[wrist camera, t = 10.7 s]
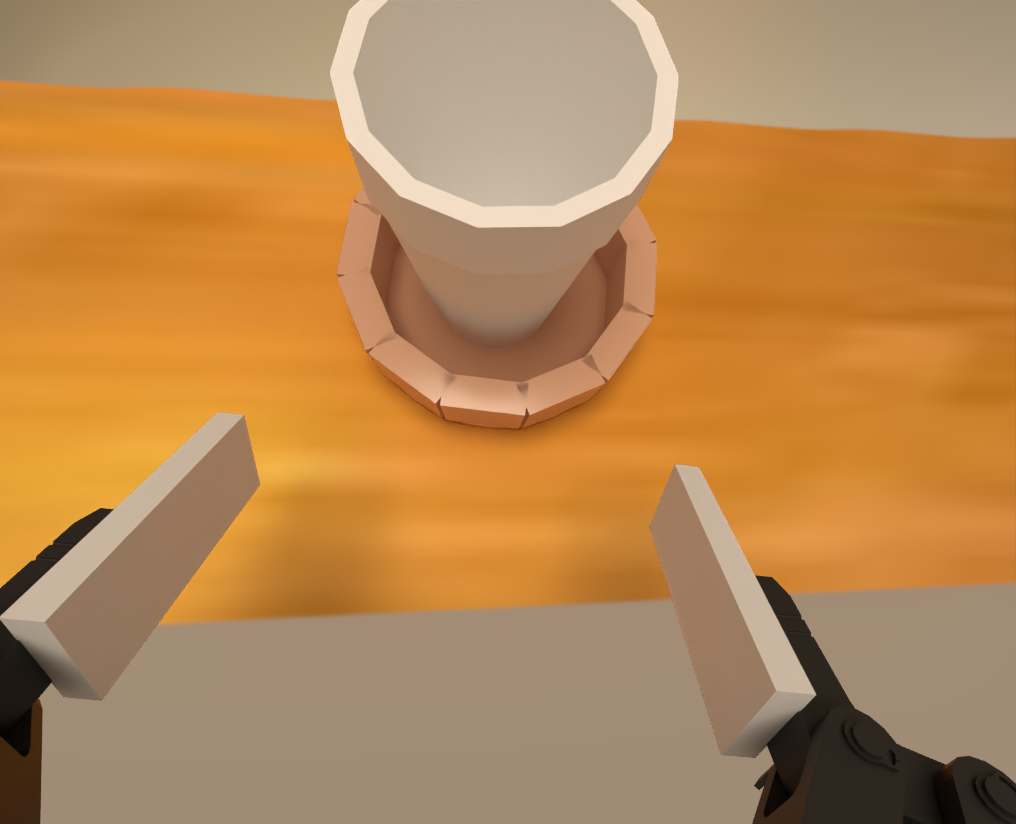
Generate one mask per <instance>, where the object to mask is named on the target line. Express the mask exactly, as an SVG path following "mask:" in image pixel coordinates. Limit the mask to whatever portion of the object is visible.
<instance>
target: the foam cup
mask: <svg viewBox="0 0 1016 824" xmlns="http://www.w3.org/2000/svg"><path fill="white" fill-rule="evenodd" d="M330 76H331V79H332V83H333V87H334V91H335V95H336V99H337V103H338V107H339V111H340V115H341V119H342V123H343V127H344V131H345V134H346V138H347V141H348V144H349V147H350V150H351V152H352V155H353V158H354V161H355V163H356V166H357V169H358V172H359V175H360V177H361V180H362V183H363V186H364V188H365V191H366V194H367V197H368V199H369V201H370V202H371V203H372V204H373V205H374V206H375V207H376V209H377V210H378V211H379V212H380V213H381V214H382V215H383V216H384V217H385V218H386V219H387V221H388V222H389V224H390V226H391V228H392V230H393V231H394V233H395V235H396V237H397V238H398V240H399V242H400V244H401V246H402V247H403V249H404V251H405V253H406V255H407V256H408V258H409V260H410V262H411V264H412V265H413V267H414V269H415V271H416V273H417V274H418V276H419V278H420V280H421V281H422V283H423V285H424V287H425V289H426V290H427V292H428V294H429V296H430V298H431V299H432V301H433V303H434V305H435V307H436V308H437V310H438V312H439V314H440V315H441V316H442V318H443V320H444V321H445V322H446V323H447V324H448V325H449V326H450V328H451V329H452V330H453V331H454V332H455V333H456V334H457V335H458V336H459V337H460V338H461V339H464V340H466V341H469V342H471V343H473V344H476V345H478V346H481V347H483V348H498V347H511V346H513V345H515V344H517V343H519V342H521V341H523V340H525V339H527V338H529V337H531V336H533V335H534V333H535V332H536V331H537V330H538V328H539V327H540V326H541V324H542V323H543V322H544V320H545V319H546V318H547V316H548V315H549V314H550V312H551V311H552V310H553V308H554V307H555V305H556V304H557V303H558V301H559V300H560V299H561V297H562V296H563V294H564V293H565V292H566V290H567V289H568V288H569V286H570V285H571V283H572V282H573V281H574V279H575V278H576V277H577V275H578V274H579V273H580V271H581V270H582V268H583V267H584V266H585V264H586V263H587V262H588V260H589V259H590V257H591V256H592V255H593V253H594V252H595V251H596V250H597V249H599V248H601V247H603V246H605V245H607V243H608V242H609V241H610V239H611V238H612V237H613V235H614V234H615V233H616V231H617V230H618V229H619V227H620V226H621V224H622V223H623V222H624V220H625V219H626V218H627V216H628V215H629V214H630V212H631V211H632V210H633V208H634V207H635V206H636V204H637V203H638V202H639V200H640V199H641V198H642V196H643V194H644V192H645V190H646V188H647V186H648V184H649V182H650V180H651V178H652V177H653V175H654V173H655V171H656V169H657V167H658V165H659V163H660V161H661V159H662V157H663V156H664V154H665V152H666V150H667V148H668V146H669V144H670V142H671V140H672V135H673V125H674V116H675V107H676V97H677V87H678V79H679V75H678V73H677V71H676V68H675V66H674V64H673V61H672V59H671V57H670V54H669V52H668V49H667V47H666V45H665V42H664V40H663V38H662V36H661V33H660V32H659V28H658V26H657V24H656V21H655V19H654V17H653V16H652V15H651V14H650V13H649V12H648V11H647V10H646V9H645V8H643V6H641V5H640V4H639V3H638V2H637V1H636V0H360V1H359V2H358V3H356V4H355V5H354V6H353V7H352V8H351V9H350V10H349V12H348V15H347V18H346V22H345V25H344V28H343V31H342V35H341V38H340V41H339V44H338V47H337V51H336V54H335V57H334V60H333V64H332V67H331V70H330Z"/></svg>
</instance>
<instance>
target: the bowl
mask: <svg viewBox="0 0 1016 824" xmlns="http://www.w3.org/2000/svg"><path fill="white" fill-rule="evenodd" d="M354 201H355V203H354V202H352V203H351V207H350V212H349V217H348V222H347V226H346V231H345V236H344V241H343V246H342V250H341V255H340V260H339V265H338V269H337V275H338V278H337V279H338V282H339V285H340V287H341V290H342V292H343V295H344V297H345V300H346V302H347V305H348V307H349V310H350V312H351V315H352V317H353V320H354V322H355V325H356V327H357V330H358V332H359V335H360V337H361V340H362V342H363V345H364V348H365V350H366V351H367V353H368V354H369V356H370V357H371V358H372V360H373V361H374V362H375V364H376V365H377V366H378V368H379V369H380V370H381V372H382V373H383V374H384V376H385V377H387V378H388V379H390V380H391V381H392V382H394V383H395V384H396V385H398V386H399V387H400V388H401V389H402V390H403V391H404V392H405V393H407V394H408V395H409V396H410V397H411V398H412V399H414V400H415V401H416V402H417V403H419V404H421V405H422V406H424V407H425V408H427V409H428V410H430V411H432V412H434V413H435V414H437V415H438V416H439V417H441V418H443V417H444V418H445V419H446V420H449V421H455V422H458V423H461V424H464V425H470V426H475V427H481V428H495V429H505V428H515V429H519V427H522V428H525V427H527V426H529V425H533V424H537V423H540V422H543V421H545V420H548V419H551V418H554V417H556V416H558V415H560V414H561V413H563V412H565V411H567V410H569V409H570V408H572V407H574V406H576V405H579V404H581V403H584V402H586V401H588V400H589V399H590V398H592V397H593V396H594V395H595V394H596V393H597V392H598V391H599V390H600V389H601V388H602V387H603V386H604V385H605V384H606V383H607V382H608V381H609V380H610V378H611V377H612V375H613V374H614V373H615V371H616V370H617V368H618V367H619V366H620V364H621V363H622V361H623V360H624V359H625V357H626V356H627V354H628V353H629V351H630V350H631V349H632V347H633V346H634V344H635V343H636V342H637V340H638V339H639V337H640V336H641V335H642V333H643V332H644V330H645V329H646V328H647V326H648V325H649V323H650V322H651V321H652V317H653V316H654V304H655V282H656V260H657V244H656V243H655V241H656V238H655V236H654V235H653V233H652V231H651V229H650V227H649V225H648V223H647V222H646V220H645V218H644V216H643V214H642V212H641V211H640V209H639V207H638V205H637V204H636V206H635V207H634V208H633V210H632V211H631V212H630V214H629V215H628V216H627V218H626V219H625V220H624V222H623V223H622V224H621V226H620V227H619V229H618V230H617V231H616V233H615V234H614V235H613V237H612V238H611V239H610V241H609V242H608V243H607V245H605V246H603V247H601V248H599V249H597V250H596V251H595V252H594V253H593V255H592V256H591V257H590V259H589V260H588V262H587V263H586V264H585V266H584V267H583V268H582V270H581V271H580V273H579V274H578V275H577V277H576V278H575V279H574V281H573V282H572V283H571V285H570V286H569V288H568V289H567V290H566V292H565V293H564V294H563V296H562V297H561V299H560V300H559V301H558V303H557V304H556V305H555V307H554V308H553V310H552V311H551V312H550V314H549V315H548V316H547V318H546V319H545V320H544V322H543V323H542V324H541V326H540V327H539V328H538V330H537V331H536V332H535V333H534V335H533V336H531V337H529V338H527V339H525V340H523V341H521V342H519V343H517V344H515V345H513V346H511V347H498V348H483V347H481V346H478V345H476V344H473V343H471V342H469V341H466V340H464V339H461V338H460V337H459V336H458V335H457V334H456V333H455V332H454V331H453V330H452V329H451V328H450V326H449V325H448V324H447V323H446V322H445V321H444V320H443V318H442V316H441V315H440V314H439V312H438V310H437V308H436V307H435V305H434V303H433V301H432V299H431V298H430V296H429V294H428V292H427V290H426V289H425V287H424V285H423V283H422V281H421V280H420V278H419V276H418V274H417V273H416V271H415V269H414V267H413V265H412V264H411V262H410V260H409V258H408V256H407V255H406V253H405V251H404V249H403V247H402V246H401V244H400V242H399V240H398V238H397V237H396V235H395V233H394V231H393V230H392V228H391V226H390V224H389V222H388V221H387V219H386V218H385V217H384V216H383V215H382V214H381V213H380V212H379V211H378V210H377V209H376V207H375V206H374V205H373V204H372V203H371V202H370V201H369V199H368V197H367V194H366V191H365V188H363V189H362V190H361V191H360V192H359V193H358V194H357V195H356V197H355V198H354Z"/></svg>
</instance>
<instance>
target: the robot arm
mask: <svg viewBox="0 0 1016 824" xmlns="http://www.w3.org/2000/svg"><path fill="white" fill-rule="evenodd" d="M259 486H260V482H259V477H258V473H257V469H256V464H255V460H254V456H253V451H252V447H251V443H250V438H249V434H248V430H247V426H246V421H245V417H244V415H239V414H230V413H221V412H217V413H216V414H215V415H214V416H213V417H212V418H211V419H210V420H209V421H208V422H207V423H206V424H205V425H204V426H203V427H201V428H200V429H199V430H198V431H197V432H196V433H195V434H194V435H193V436H192V437H191V438H190V439H189V440H188V441H187V442H185V443H184V444H183V445H182V446H181V447H180V448H179V449H178V450H177V451H176V452H175V453H174V454H173V455H172V456H171V457H169V458H168V459H167V460H166V461H165V462H164V463H163V464H162V465H161V466H160V467H159V468H158V469H157V470H156V471H155V472H153V473H152V474H151V475H150V476H149V477H148V478H147V479H146V480H145V481H144V482H143V483H142V484H141V485H140V486H139V487H137V488H136V489H135V490H134V491H133V492H132V493H131V494H130V495H129V496H128V497H127V498H126V499H125V500H124V501H123V502H121V503H120V504H119V505H118V506H117V507H116V508H115V509H104V508H100V509H98V510H97V511H95V512H93V513H91V514H89V515H88V516H86V517H84V518H82V519H80V520H79V521H77V522H75V523H74V524H72V525H71V526H70V527H69V528H68V529H67V530H66V531H65V532H63V533H62V534H61V535H60V536H59V537H58V538H57V539H56V540H54V541H53V542H54V543H53V545H49V546H48V547H46V548H45V549H44V550H43V551H42V552H41V553H40V554H39V555H37V556H36V560H34V561H31V562H30V563H28V564H27V565H26V566H25V567H24V568H23V569H22V570H20V571H19V572H18V573H17V574H16V575H15V576H14V577H13V578H11V579H10V580H9V581H8V582H7V583H6V584H5V585H3V586H2V587H1V588H0V824H40V808H41V807H40V806H41V759H42V706H41V703H40V700H39V699H38V698H39V697H40V695H41V694H42V693H43V692H44V691H45V689H46V688H47V687H48V686H49V685H50V684H51V682H52V684H53V685H54V686H55V687H56V689H57V690H58V691H59V692H60V694H61V695H62V696H63V697H68V698H79V699H91V700H102V699H103V698H104V697H105V696H106V694H107V693H108V691H109V690H110V689H111V687H112V686H113V685H114V683H115V682H116V681H117V679H118V678H119V676H120V675H121V674H122V672H123V671H124V670H125V668H126V667H127V665H128V664H129V663H130V661H131V660H132V659H133V657H134V656H135V655H136V653H137V652H138V651H139V649H140V648H141V646H142V645H143V644H144V642H145V641H146V640H147V638H148V637H149V636H150V634H151V633H152V631H153V630H154V629H155V627H156V626H157V625H158V623H159V622H160V621H161V619H162V618H163V616H164V615H165V614H166V612H167V611H168V610H169V608H170V607H171V606H172V604H173V603H174V601H175V600H176V599H177V597H178V596H179V595H180V593H181V592H182V591H183V589H184V588H185V586H186V585H187V584H188V582H189V581H190V580H191V578H192V577H193V576H194V574H195V573H196V571H197V570H198V569H199V567H200V566H201V565H202V563H203V562H204V561H205V559H206V558H207V556H208V555H209V554H210V552H211V551H212V550H213V548H214V547H215V546H216V544H217V543H218V541H219V540H220V539H221V537H222V536H223V535H224V533H225V532H226V531H227V529H228V528H229V526H230V525H231V524H232V522H233V521H234V520H235V518H236V517H237V516H238V514H239V513H240V511H241V510H242V509H243V507H244V506H245V505H246V503H247V502H248V501H249V499H250V498H251V496H252V495H253V494H254V492H255V491H256V490H257V488H258V487H259ZM649 528H650V531H651V534H652V537H653V540H654V543H655V547H656V550H657V553H658V556H659V559H660V563H661V566H662V569H663V572H664V575H665V578H666V582H667V585H668V588H669V591H670V594H671V597H672V601H673V604H674V607H675V610H676V613H677V616H678V620H679V623H680V626H681V629H682V632H683V636H684V638H685V642H686V645H687V648H688V651H689V654H690V657H691V661H692V664H693V667H694V670H695V674H696V677H697V680H698V683H699V686H700V690H701V692H702V696H703V699H704V702H705V705H706V708H707V712H708V715H709V718H710V721H711V725H712V728H713V731H714V734H715V737H716V740H717V744H718V747H719V750H720V753H721V755H728V756H739V757H751V758H756V756H757V755H758V754H759V753H760V752H761V751H762V750H763V749H764V748H765V747H766V746H768V749H769V751H770V754H771V757H772V759H773V762H774V764H773V765H772V766H771V767H770V768H769V769H768V770H767V771H766V772H765V773H764V774H763V775H762V776H761V777H760V778H759V779H758V781H757V782H756V784H755V785H754V786H755V787H756V788H757V789H759V790H760V789H761V788H762V787H763V786H764V789H763V792H762V795H761V798H760V801H759V804H758V807H757V811H756V814H755V817H754V820H753V823H752V824H1016V784H1015V783H1014V782H1013V781H1012V780H1011V779H1010V778H1009V777H1007V776H1006V775H1005V774H1004V773H1003V772H1001V771H1000V770H998V769H996V768H995V767H993V766H992V765H990V764H988V763H987V762H985V761H982V760H979V759H977V758H973V757H971V756H964V757H957V758H956V759H954V760H953V761H951V762H950V763H949V764H947V765H945V764H943V763H940V762H938V761H936V760H933V759H930V758H928V757H926V756H924V755H921V754H918V753H916V752H914V751H912V750H909V749H907V748H905V747H902V746H900V745H898V744H896V742H895V741H894V740H893V739H892V738H891V736H890V735H889V734H888V733H887V731H886V730H885V729H884V728H883V727H882V726H880V725H879V724H878V723H877V722H876V721H874V720H873V719H872V718H871V717H870V716H868V715H866V714H864V713H862V712H860V711H859V710H857V709H855V708H854V706H853V705H852V703H851V702H850V700H849V699H848V697H847V695H846V693H845V692H844V690H843V688H842V686H841V685H840V683H839V681H838V679H837V678H836V676H835V674H834V672H833V671H832V669H831V667H830V665H829V664H828V662H827V660H826V658H825V656H824V655H823V653H822V651H821V649H820V648H819V646H818V644H817V642H816V641H815V639H814V637H811V632H810V630H809V628H808V627H807V625H806V623H805V621H804V620H802V619H801V614H800V613H799V611H798V609H797V607H796V605H795V604H794V602H793V600H792V598H791V597H790V595H789V594H788V593H787V592H786V591H785V590H784V589H783V588H782V587H781V586H780V585H779V584H778V583H777V582H776V581H775V580H774V579H773V578H772V577H765V576H755V575H754V573H753V571H752V569H751V567H750V565H749V563H748V561H747V559H746V557H745V555H744V554H743V552H742V550H741V548H740V546H739V544H738V542H737V540H736V538H735V536H734V534H733V532H732V530H731V528H730V526H729V524H728V522H727V521H726V519H725V517H724V515H723V513H722V511H721V509H720V507H719V505H718V503H717V501H716V499H715V497H714V495H713V493H712V491H711V489H710V488H709V486H708V484H707V482H706V480H705V478H704V476H703V474H702V472H701V470H700V468H699V467H694V466H686V465H677V464H675V465H674V467H673V470H672V472H671V475H670V477H669V480H668V482H667V484H666V487H665V489H664V492H663V494H662V497H661V499H660V502H659V504H658V506H657V509H656V511H655V514H654V516H653V519H652V521H651V524H650V526H649Z"/></svg>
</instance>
